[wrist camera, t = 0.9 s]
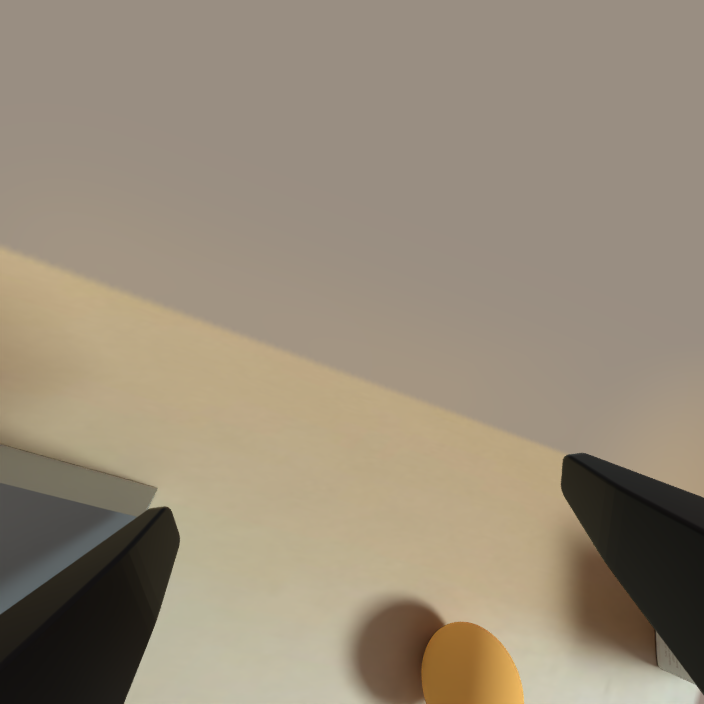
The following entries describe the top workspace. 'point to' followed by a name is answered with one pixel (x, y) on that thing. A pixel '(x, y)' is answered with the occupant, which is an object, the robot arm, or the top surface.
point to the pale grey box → (56, 517)
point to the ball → (469, 668)
